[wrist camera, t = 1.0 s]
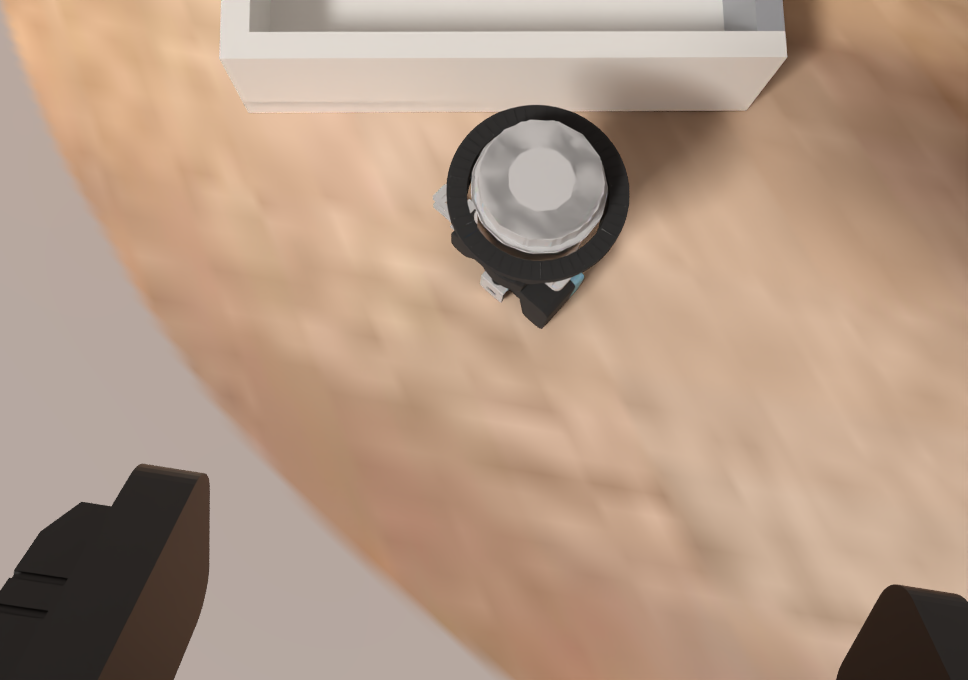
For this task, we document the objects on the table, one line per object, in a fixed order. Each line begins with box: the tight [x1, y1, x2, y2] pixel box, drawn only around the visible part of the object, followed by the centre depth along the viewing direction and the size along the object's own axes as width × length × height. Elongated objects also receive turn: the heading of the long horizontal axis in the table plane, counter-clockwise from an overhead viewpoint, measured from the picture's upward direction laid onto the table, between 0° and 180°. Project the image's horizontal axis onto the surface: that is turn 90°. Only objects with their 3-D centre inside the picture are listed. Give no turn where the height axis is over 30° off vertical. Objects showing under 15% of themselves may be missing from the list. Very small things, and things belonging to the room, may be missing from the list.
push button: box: [433, 105, 629, 329], centre depth 30 cm, size 7×5×10 cm
